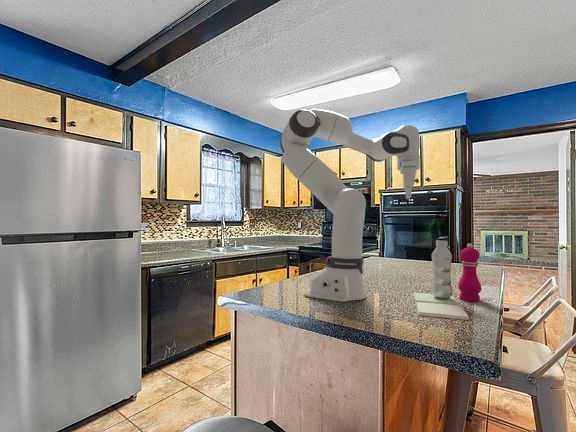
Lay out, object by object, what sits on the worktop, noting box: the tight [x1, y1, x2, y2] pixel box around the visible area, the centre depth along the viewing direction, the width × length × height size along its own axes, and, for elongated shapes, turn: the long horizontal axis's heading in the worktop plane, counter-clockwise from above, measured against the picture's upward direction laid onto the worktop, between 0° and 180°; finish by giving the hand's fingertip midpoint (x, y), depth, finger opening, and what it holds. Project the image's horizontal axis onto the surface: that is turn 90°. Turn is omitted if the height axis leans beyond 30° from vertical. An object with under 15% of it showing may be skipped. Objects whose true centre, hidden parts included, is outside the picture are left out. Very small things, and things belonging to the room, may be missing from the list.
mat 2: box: [415, 302, 470, 321], centre depth 96 cm, size 13×12×1 cm
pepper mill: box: [457, 243, 483, 303], centre depth 111 cm, size 7×7×20 cm
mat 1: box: [413, 292, 460, 306], centre depth 109 cm, size 13×12×1 cm
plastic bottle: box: [430, 239, 453, 299], centre depth 109 cm, size 6×7×20 cm
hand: (408, 198), depth 131 cm, fingers open, 8 cm apart
